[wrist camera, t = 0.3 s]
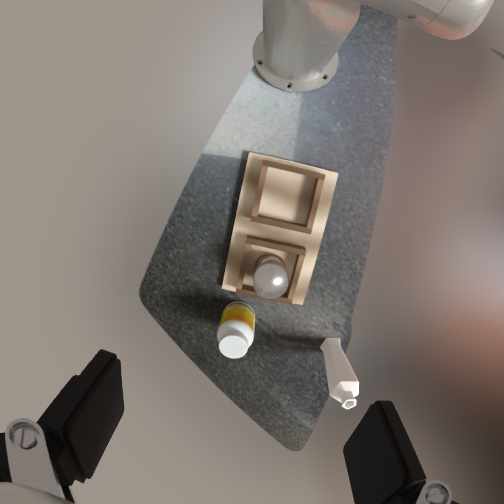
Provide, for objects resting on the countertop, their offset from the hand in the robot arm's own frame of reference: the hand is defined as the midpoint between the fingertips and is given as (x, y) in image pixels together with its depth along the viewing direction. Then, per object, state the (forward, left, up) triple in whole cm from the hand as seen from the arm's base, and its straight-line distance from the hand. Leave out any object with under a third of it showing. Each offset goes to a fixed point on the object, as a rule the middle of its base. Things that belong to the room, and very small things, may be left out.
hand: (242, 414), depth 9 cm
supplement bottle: (+16, 0, -36) cm, 39 cm away
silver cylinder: (+6, +3, -35) cm, 35 cm away
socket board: (+1, +3, -36) cm, 36 cm away
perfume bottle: (+19, +17, -36) cm, 44 cm away
